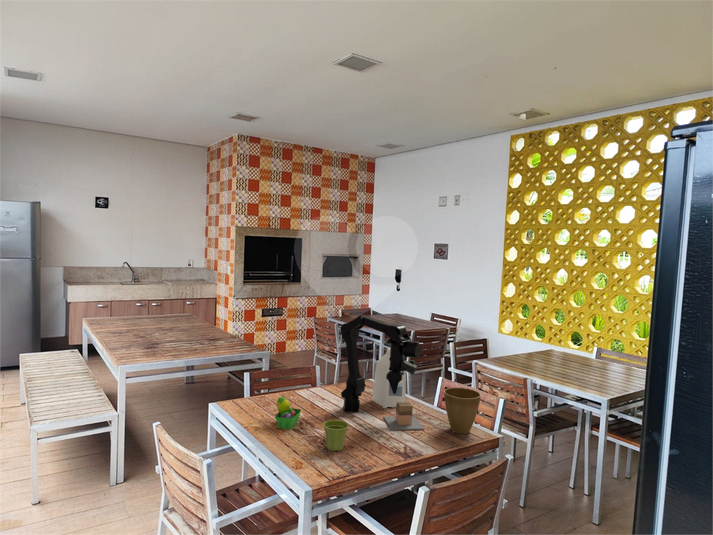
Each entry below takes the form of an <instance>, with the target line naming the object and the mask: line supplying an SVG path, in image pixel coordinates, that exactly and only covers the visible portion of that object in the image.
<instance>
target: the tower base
mask: <svg viewBox="0 0 713 535" xmlns="http://www.w3.org/2000/svg"><path fill="white" fill-rule="evenodd" d="M383 419H384V421H385V422H387V423H386V424H387V426H388V427H390V428H389V429H390V431H425V427H424V426H423V425H422V424H421V422H420V421H419V420H418V419H417V417H416V416H413V414H412V415H399V414H398V413H397V411H396V410H395V416H383Z"/></svg>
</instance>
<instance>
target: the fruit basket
mask: <svg viewBox="0 0 713 535" xmlns="http://www.w3.org/2000/svg"><path fill="white" fill-rule="evenodd" d="M291 406H292V405H291V403H290V401H288V399H286V398H285V397H283V396H279V397H278V398H277V400H276V410H277V411H278V413H276V415H275V416H274V418H275V420H276V426H277V429H283V430H291V429H292V428H293V427H295V425H296V424H297V423H298V421H299V418H300V414H301V413H302V409H301V408H293V407H291Z"/></svg>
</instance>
